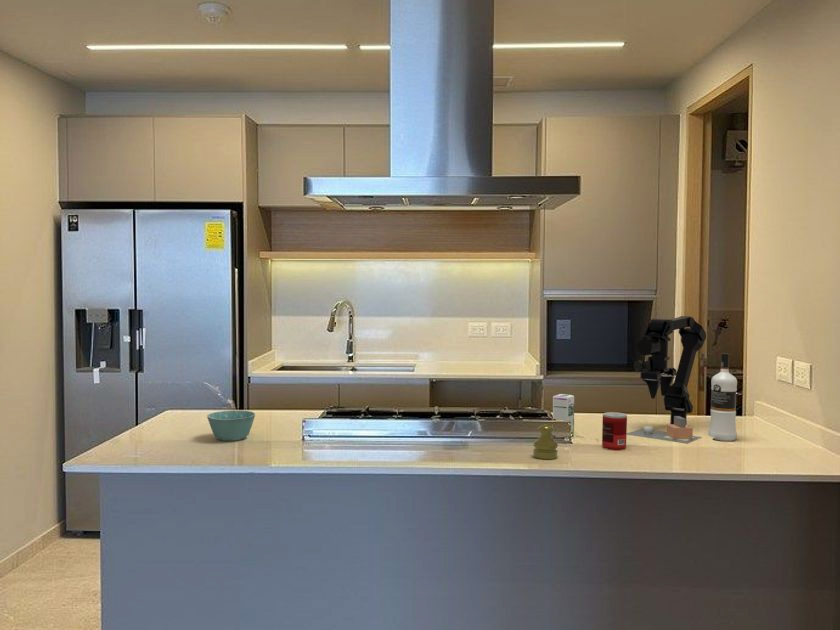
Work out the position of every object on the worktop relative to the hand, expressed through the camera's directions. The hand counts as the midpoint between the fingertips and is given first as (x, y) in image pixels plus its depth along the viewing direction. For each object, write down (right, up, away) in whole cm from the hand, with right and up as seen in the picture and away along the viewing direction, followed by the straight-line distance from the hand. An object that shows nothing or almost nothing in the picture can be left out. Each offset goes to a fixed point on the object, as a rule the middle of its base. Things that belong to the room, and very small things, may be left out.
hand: (658, 397), depth 267 cm
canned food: (-22, -14, -24) cm, 36 cm away
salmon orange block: (+3, -12, -13) cm, 18 cm away
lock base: (-1, -13, -9) cm, 16 cm away
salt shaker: (-47, -14, -38) cm, 62 cm away
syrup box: (-36, -13, -7) cm, 39 cm away
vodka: (+20, -14, -8) cm, 26 cm away
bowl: (-149, -12, -18) cm, 151 cm away
